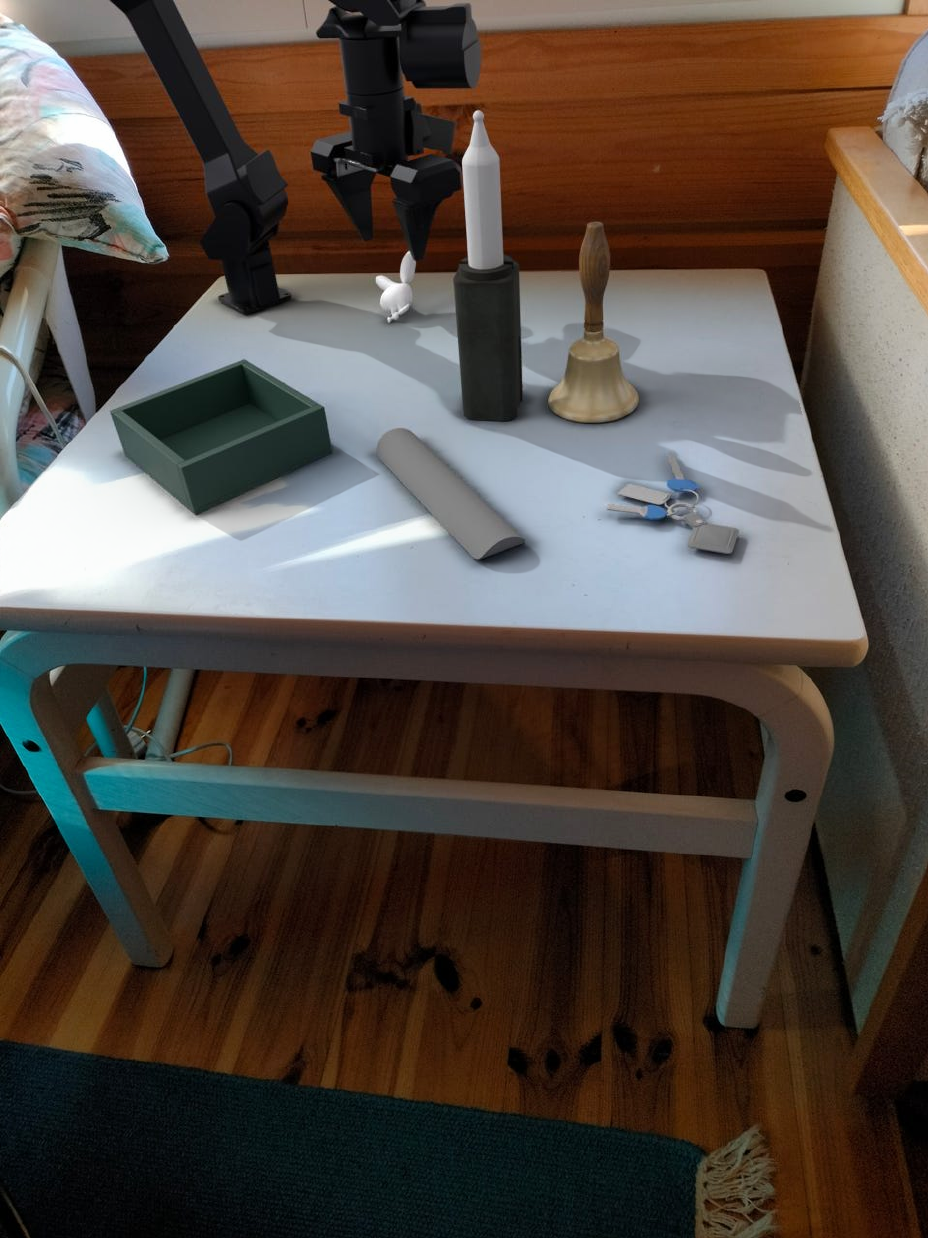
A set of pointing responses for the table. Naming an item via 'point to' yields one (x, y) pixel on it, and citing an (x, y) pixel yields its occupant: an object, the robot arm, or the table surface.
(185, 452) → the bin
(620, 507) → the key chain
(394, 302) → the rabbit figurine
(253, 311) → the robot arm
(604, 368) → the hand bell
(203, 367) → the table surface
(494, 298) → the candle
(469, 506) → the half round rod
